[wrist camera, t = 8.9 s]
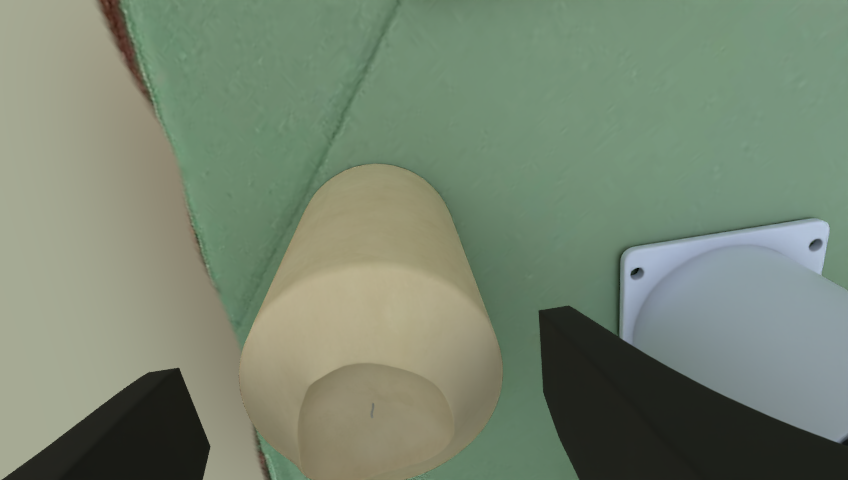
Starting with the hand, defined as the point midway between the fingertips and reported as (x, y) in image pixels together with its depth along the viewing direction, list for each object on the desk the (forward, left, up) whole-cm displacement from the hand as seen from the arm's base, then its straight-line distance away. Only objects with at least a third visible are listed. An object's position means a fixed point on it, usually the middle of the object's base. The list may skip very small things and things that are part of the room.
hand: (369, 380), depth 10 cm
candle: (0, 0, -9) cm, 9 cm away
